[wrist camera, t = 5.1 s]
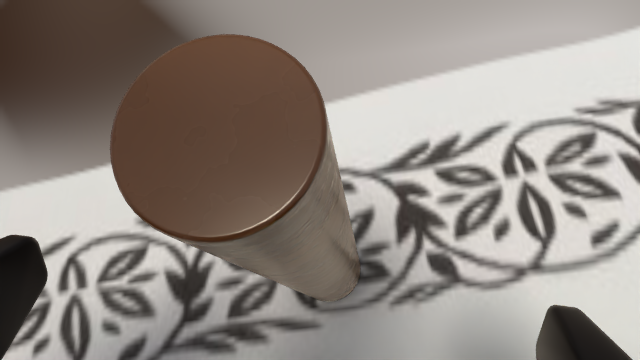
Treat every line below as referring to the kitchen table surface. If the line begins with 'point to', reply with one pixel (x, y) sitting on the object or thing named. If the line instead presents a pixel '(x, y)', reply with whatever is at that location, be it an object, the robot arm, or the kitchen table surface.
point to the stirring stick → (238, 162)
